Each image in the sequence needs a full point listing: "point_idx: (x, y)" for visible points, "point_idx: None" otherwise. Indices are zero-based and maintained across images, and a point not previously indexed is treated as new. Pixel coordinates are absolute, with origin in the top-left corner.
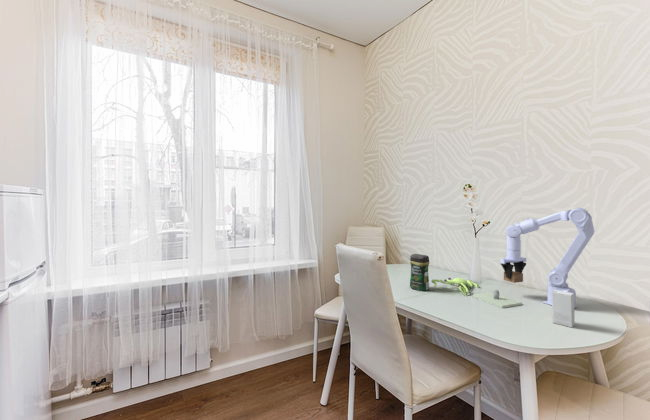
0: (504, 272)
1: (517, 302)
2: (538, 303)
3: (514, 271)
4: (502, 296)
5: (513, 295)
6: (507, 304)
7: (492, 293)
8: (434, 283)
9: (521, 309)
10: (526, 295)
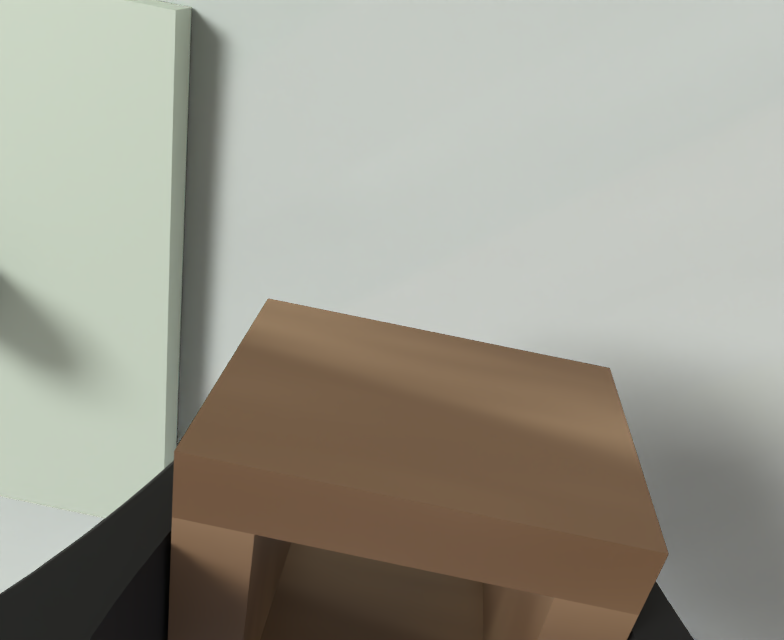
0: (182, 462)
1: (108, 501)
2: None
3: (617, 629)
4: (142, 272)
5: (493, 266)
6: None
7: (122, 72)
8: None
9: (26, 557)
10: (683, 377)
